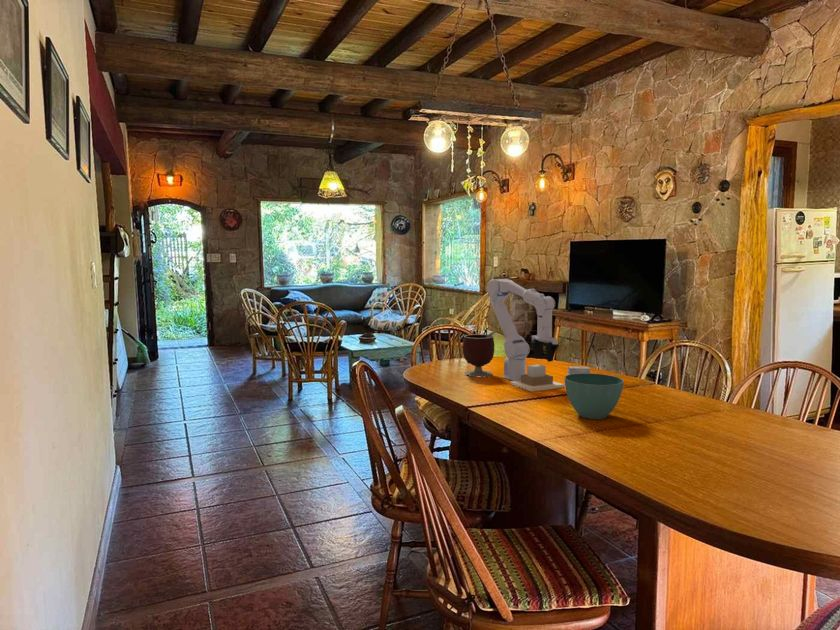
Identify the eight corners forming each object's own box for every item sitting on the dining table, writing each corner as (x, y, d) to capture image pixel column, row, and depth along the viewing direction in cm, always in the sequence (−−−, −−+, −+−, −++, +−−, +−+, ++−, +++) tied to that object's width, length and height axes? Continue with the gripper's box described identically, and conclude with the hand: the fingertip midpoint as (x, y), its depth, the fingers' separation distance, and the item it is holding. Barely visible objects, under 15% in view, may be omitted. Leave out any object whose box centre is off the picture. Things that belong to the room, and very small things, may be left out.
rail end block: (527, 382, 229) (527, 365, 229) (539, 381, 232) (539, 364, 231) (533, 384, 226) (533, 367, 225) (545, 383, 228) (545, 366, 228)
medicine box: (587, 388, 225) (588, 366, 224) (590, 390, 221) (590, 368, 220) (567, 387, 226) (567, 366, 225) (569, 390, 221) (569, 368, 221)
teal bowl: (620, 410, 191) (621, 374, 190) (624, 425, 174) (625, 386, 173) (564, 407, 196) (565, 371, 195) (563, 421, 179) (563, 382, 178)
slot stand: (510, 384, 232) (510, 374, 232) (541, 380, 239) (542, 370, 239) (530, 391, 219) (531, 380, 219) (564, 387, 226) (564, 376, 226)
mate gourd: (459, 376, 248) (459, 331, 246) (466, 370, 262) (466, 327, 260) (495, 378, 244) (495, 332, 242) (500, 372, 257) (500, 328, 255)
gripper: (525, 325, 235) (525, 358, 236) (547, 328, 222) (547, 363, 223) (539, 324, 238) (539, 356, 239) (562, 327, 225) (561, 362, 226)
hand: (544, 359), depth 231 cm, fingers open, 7 cm apart
